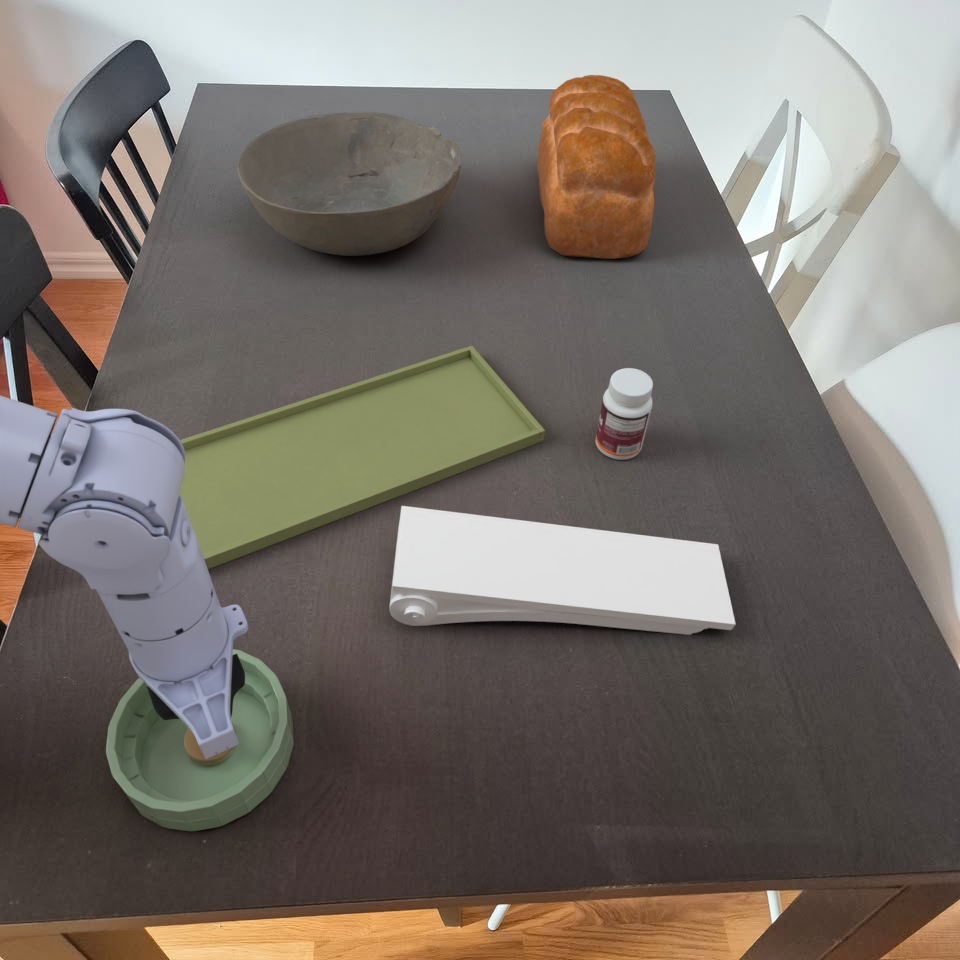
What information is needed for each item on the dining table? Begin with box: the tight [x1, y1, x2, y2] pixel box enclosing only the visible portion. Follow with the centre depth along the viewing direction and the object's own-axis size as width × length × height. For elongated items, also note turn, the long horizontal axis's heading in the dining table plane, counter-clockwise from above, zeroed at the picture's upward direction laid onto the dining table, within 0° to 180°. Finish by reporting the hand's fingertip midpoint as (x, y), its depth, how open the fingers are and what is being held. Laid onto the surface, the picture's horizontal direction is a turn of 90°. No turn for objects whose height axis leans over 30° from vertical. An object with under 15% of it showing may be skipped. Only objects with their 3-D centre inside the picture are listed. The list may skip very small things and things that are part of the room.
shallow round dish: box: [105, 648, 295, 832], centre depth 60 cm, size 12×12×4 cm
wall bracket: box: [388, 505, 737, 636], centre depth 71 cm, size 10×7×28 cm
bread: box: [536, 74, 656, 260], centre depth 110 cm, size 14×26×16 cm, turn 0°
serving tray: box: [179, 345, 546, 570], centre depth 81 cm, size 39×15×2 cm, turn 119°
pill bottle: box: [595, 367, 654, 461], centre depth 81 cm, size 5×5×8 cm
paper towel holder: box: [184, 724, 236, 766], centre depth 58 cm, size 4×4×9 cm
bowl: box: [236, 111, 462, 257], centre depth 107 cm, size 28×28×10 cm
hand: (211, 710), depth 58 cm, fingers closed on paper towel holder
